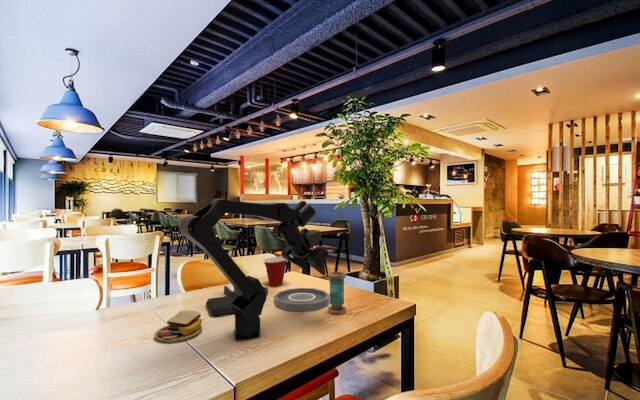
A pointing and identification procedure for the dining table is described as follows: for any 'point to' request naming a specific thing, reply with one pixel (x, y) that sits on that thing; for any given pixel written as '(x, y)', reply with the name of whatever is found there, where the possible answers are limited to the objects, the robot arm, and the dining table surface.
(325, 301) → the round tray
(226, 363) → the dining table surface
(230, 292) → the calculator
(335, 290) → the bead spool
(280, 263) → the plastic cup
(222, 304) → the carrying case or bag
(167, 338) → the toy sandwich meal
